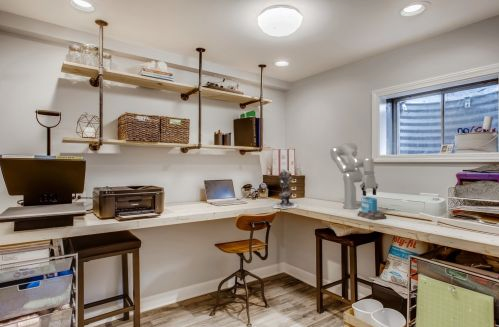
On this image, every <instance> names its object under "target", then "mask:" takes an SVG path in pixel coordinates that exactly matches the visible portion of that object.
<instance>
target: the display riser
mask: <svg viewBox="0 0 499 327" xmlns="http://www.w3.org/2000/svg"><path fill="white" fill-rule="evenodd" d="M356 216H357V217H360V218H363V219H367V220H371V221H377V220H385V219H387V215H386V214H385V213H382V212H378V211H377V212H375V211H370V210H369V211H368V212H367V213H366V212H362V210H359V211H358V213H357V215H356Z"/></svg>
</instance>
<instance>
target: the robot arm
mask: <svg viewBox="0 0 499 327" xmlns="http://www.w3.org/2000/svg"><path fill="white" fill-rule="evenodd" d="M329 151H330V152H329V155H330V158H331V160H332V161H333V162H334V163H335V164H336V165H335V166H337V168H338V170H339V171H340V172H341V174H342V175H343V176H342V181H343V188H344V189H343V190H344V202H343V203H342V205H343V206H342V208H343V209H346V210H356V209H359V206H357V187H356V185H355V183H361V184H359V187H360V190H361V192H362V197H367V189H372V195H373V196H377V190H378V188H379V183H377V182H376V176H375V166H374V162H375V160H374V159H373V158H372V157H365V158H364V157H363V158H361V157H360V158H358V157H357V155H358V146H357V144H356V143H353V142H344V143H341V145H340V146H333V147H331V149H330V150H329ZM344 156H346V157H347V161H346V159H345V158H344ZM360 168H363V172H362V170H361V169H360Z"/></svg>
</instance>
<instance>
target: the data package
mask: <svg viewBox="0 0 499 327" xmlns="http://www.w3.org/2000/svg"><path fill="white" fill-rule="evenodd" d="M360 203H361V204H360V205H361V208H360V211H362V212H366V213H367V212H368V211H369V210H370V211H375V212H378V199H377V198H376V197H371V196H362V197H361V202H360Z"/></svg>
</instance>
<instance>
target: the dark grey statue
mask: <svg viewBox="0 0 499 327" xmlns="http://www.w3.org/2000/svg"><path fill="white" fill-rule="evenodd" d="M278 181H279V186H280V188H281V191H280V192H279V195H278V196H279V198H280V200H281V201H280V203H279V202H277V203H274V204H273V205H272V206H271V208H273V209H282V210H287V209H295V208H296V207H298V206H299V205H297V204H295V203H293V202H291V201H290V198H291V196H292V195H293V192H292V190H291V189H290V184H291V182H292V181H293V178H292V172H291V171H289V170H287V169H284V170H283V169H282V170H281V171H280V172H279V173H278Z"/></svg>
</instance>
